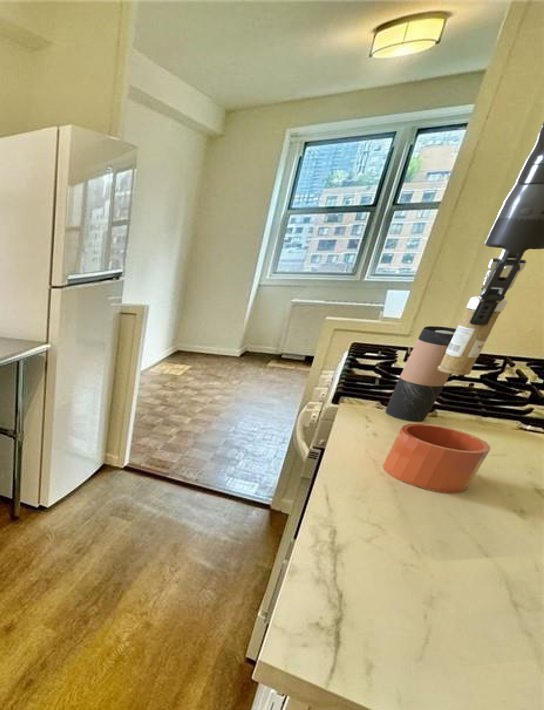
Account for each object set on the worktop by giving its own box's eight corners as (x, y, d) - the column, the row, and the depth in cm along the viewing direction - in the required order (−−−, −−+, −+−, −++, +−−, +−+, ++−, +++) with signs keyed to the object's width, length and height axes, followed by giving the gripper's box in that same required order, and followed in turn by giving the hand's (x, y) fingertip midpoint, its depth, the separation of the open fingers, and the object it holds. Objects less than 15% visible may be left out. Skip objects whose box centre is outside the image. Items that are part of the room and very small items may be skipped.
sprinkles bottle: (474, 377, 87) (514, 301, 81) (442, 374, 89) (479, 299, 83) (462, 369, 91) (500, 296, 85) (431, 366, 93) (466, 294, 86)
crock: (421, 458, 95) (440, 422, 91) (485, 490, 85) (510, 451, 81) (367, 462, 94) (384, 425, 90) (425, 494, 84) (447, 454, 80)
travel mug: (435, 422, 110) (481, 334, 100) (402, 422, 110) (445, 335, 100) (406, 408, 116) (447, 325, 107) (375, 408, 116) (413, 326, 107)
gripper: (571, 217, 71) (509, 333, 79) (562, 214, 80) (507, 318, 88) (498, 217, 76) (446, 326, 84) (497, 214, 85) (450, 312, 93)
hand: (478, 321), depth 86 cm, fingers closed on sprinkles bottle, 4 cm apart
